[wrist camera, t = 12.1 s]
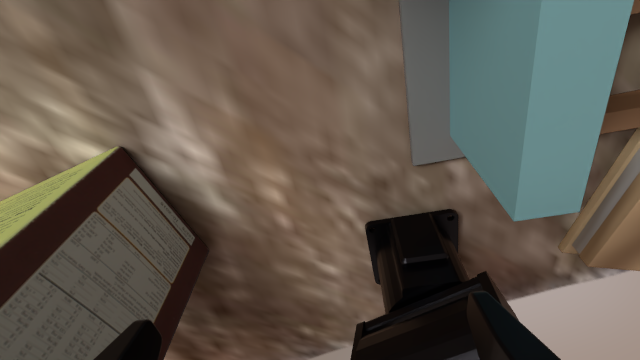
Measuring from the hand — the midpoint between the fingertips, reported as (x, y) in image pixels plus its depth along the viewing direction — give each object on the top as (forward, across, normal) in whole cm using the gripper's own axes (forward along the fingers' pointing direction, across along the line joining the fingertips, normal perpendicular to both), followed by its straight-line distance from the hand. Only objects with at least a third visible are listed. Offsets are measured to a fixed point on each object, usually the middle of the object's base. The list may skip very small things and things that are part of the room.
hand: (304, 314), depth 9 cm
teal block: (+12, -9, -4) cm, 16 cm away
